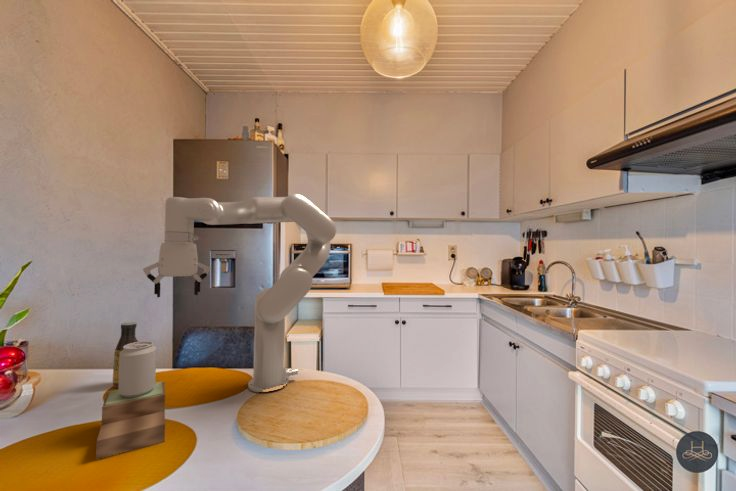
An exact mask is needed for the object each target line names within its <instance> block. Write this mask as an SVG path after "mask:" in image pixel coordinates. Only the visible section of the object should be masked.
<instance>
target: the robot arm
mask: <svg viewBox="0 0 736 491" xmlns="http://www.w3.org/2000/svg"><path fill="white" fill-rule="evenodd" d="M164 208H165V209H164V238H163V239H164V242H161V244H160V247H159V253H158V261H157V262H155V263H152V264H150V265H148V266H146V267H144V268H142V270H143V272H144V274H145V276H146V278H147V279H149V280H150V281H151V282H153V284H154V292H153V294H154V295H156V298H160V297H161V282H160V281H162V279H163V278H164V277H165V278H166V277H167V278H169V277H170V278H171V277H173V278H174V277H193V278H194V279H195V281H194V282H193V284H194V285H193V286H194V287H193V289H194V292H193V294H194V295H195V296H198V295H199V293H201V283H202V281H203V280H204V279H205V278H206V277H207V276H208V274H209V272H211V267H210V266H208V265H206V264H203V263H201V262H199V259H198V257H199V256H198V249H197V244H196V243H194V241H199V239H200V236H199V235H196V234H195V233H194V231H195V230H194V229H195V227H194V225H195V222H201V223H204V224H206V225H211V226H215V225H216V226H217V225H240V224H241V225H242V224H250V225H252V224H269V223H296V225H298V226H299V227H300V229H302V230H304V232H305V234H306V238H307V244H306V246H305V248H304V249H303V250H302V252H300V254H299V255H298V256H297V257H296V258H295V259H294V260H293V261H292V262H290V264H289V265H287V266H286V267H285V268H284V269H283V270H282V271H281V272H280V275H279V278H278V280H277V281H276V282H275V283H273V285H272V286H270V287H269V288H264V289H262V290H261V291H260V292H259V293H258V294H257V295H256V298H255V301H254V337H253V339H254V341H253V378H251V379H250V380H249V381H248V382H247V388H248V389H249V390H250V391H252V392H255V393H259V392H261V391H263V390H266V389H270V388H273V387H276V386H280V385H284V384H286V383H288V384H289V377H290V376H296V375H298V374H299V371H298V368H294V369H293V368H292V367H287V368H285V362H284V361H285V334H286V332H285V331H286V330H285V329H286V327H285V326H286V324H285V323H286V322H285V320H286V316H288V315H289V314H290V313H291V311H293V309H295V307H296V306H297V305H298V304H299V303H300V302H301V301H302V300H303V299H304V298H305V297H306V296H307V295H308V293H309V291H310V290H311V288H312V286H313V277H314V276H315V275H316V274H317V273H318V272H319V271H320V269H322V268H323V266H324V265H325V263H326V262H327V261H328V258H329V257H330V252H331V241H332V240H333V239H335V236H336V235H337V234H336V233H337V227H336V224H335V222H334V221H333V219H331V218H330V217H329V216H328V215H327V214H326V213H324V211H322V210H321V209H320V208H319V207H317V206H316V205H315V204H314V203H313V202H312V201H311V200H309V199H308V198H306V196H304V195H303V194H301V193H292V194H289V195H287V196H254V197H251V198H247V199H245V200H240V201H233V202H232V201H230V202H228V201H227V202H226V201H225V202H221V201H220V202H219V201H216V200H215V199H213V198H209V197H197V198H196V197H195V198H187V197H181V196H171V197H170V196H169V197H168V198H166V199H165V206H164ZM156 268H157V271H158V275H157V276H156V277H155V276H154V275H153V274H152V273H151V271H152V270H154V269H156ZM199 268H201V269H203V270H204V271H203V272H202V273H201V274H200V275H199V274H198V272H199Z"/></svg>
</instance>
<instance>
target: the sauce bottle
mask: <svg viewBox="0 0 736 491" xmlns="http://www.w3.org/2000/svg"><path fill="white" fill-rule="evenodd" d="M137 324H138V323H137V322H136V321H135V322H133V321H130V322H124V323H121V325H120V329H121V331H120V336H119V337H120V338H119V340H118V342H117V345H116V347H115V349H114V359H113V369H112V370H113V373H112V386H113V388H115V389H119V357H120V352H121V351H122V350H123V349H124V348H123V346H125V345H127V344H130V343H134V342H139V340H137V337H136V328H137Z"/></svg>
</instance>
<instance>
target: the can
mask: <svg viewBox="0 0 736 491" xmlns="http://www.w3.org/2000/svg"><path fill="white" fill-rule="evenodd" d="M123 348H124V349H123V350H122V351H121V352H120V357H119V388H117V390H118V393H119V394H120V395H122V396H123V397H137V396H141V395H144V394H146V393H148V392H150V391H151V390H152V389H153V388H154V387H155V383H156V377H157V376H156V375H157V374H156V372H157V371H156V370H157V367H156V366H157V347H156V346H155V345H154V342H153V341H150V340H149V341H148V340H147V341H145V340H143V341H138V342H134V343H130V344H127V345H125V346H123Z"/></svg>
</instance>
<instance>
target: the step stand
mask: <svg viewBox="0 0 736 491" xmlns="http://www.w3.org/2000/svg"><path fill="white" fill-rule="evenodd" d="M165 401H166V390H165V381H159V382H155V387H154V388H153V389H152V390H151V391H150V392H148V393H146V394H144V395H141V396H137V397H123V396H122V395H120V394H119V393H118V389H115V390H110V391H107V393H106V396H105V398H104V401H103V404H102V408H101V409H102V410H101V426H100V429H99V433H98V436H97V438H96V447H95V448H96V450H95V451H96V452H95V454H96V455H95V460H96V459H99V460H101V459H100V458H103V457H106V458H109V457H108V456H110V455H114V454H117V453H121V454H123V453H122V452H125V453H128V452H131V451H135V450H139V449H143V448H146V447H149V446H150V447H151V446H154V445H157V444H162V443H164V442H166V441H165V440H166V439H165V436H166V415H165V414H166V413H165V410H166V409H165V405H166V404H165V403H166V402H165ZM127 451H128V452H127ZM117 455H118V454H117ZM114 456H115V455H114ZM110 457H111V456H110ZM103 459H104V458H103Z"/></svg>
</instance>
